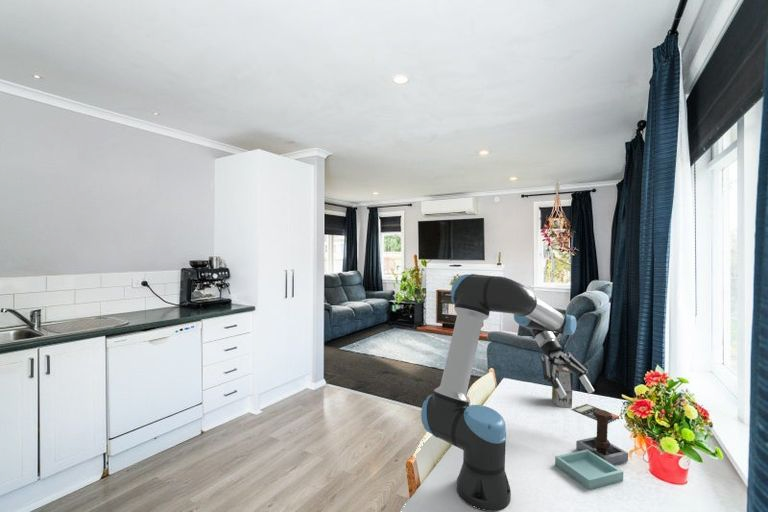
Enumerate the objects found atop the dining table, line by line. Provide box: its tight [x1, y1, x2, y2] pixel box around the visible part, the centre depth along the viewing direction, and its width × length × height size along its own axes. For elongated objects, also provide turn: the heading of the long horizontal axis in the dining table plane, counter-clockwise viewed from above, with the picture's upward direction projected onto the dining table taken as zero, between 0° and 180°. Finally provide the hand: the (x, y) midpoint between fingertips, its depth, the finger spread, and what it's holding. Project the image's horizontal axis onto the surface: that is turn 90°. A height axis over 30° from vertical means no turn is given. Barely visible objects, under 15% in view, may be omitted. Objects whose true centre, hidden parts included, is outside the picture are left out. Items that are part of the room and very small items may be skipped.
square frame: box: [575, 436, 629, 466], centre depth 126 cm, size 10×11×3 cm
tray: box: [554, 450, 624, 491], centre depth 116 cm, size 14×13×3 cm
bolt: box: [593, 408, 612, 456], centre depth 126 cm, size 6×5×15 cm
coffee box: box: [551, 366, 574, 409], centre depth 169 cm, size 9×6×16 cm
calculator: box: [571, 403, 620, 424], centre depth 159 cm, size 12×1×15 cm
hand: (578, 394), depth 135 cm, fingers open, 13 cm apart
